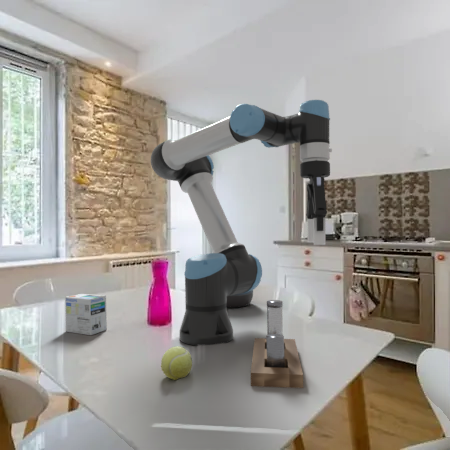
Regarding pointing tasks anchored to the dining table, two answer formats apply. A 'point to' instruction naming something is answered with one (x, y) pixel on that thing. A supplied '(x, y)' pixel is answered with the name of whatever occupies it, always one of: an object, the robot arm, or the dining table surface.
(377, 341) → the dining table surface
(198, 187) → the robot arm
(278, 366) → the seated stud
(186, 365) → the tennis ball
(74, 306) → the light bulb box
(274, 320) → the stud
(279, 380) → the socket board
